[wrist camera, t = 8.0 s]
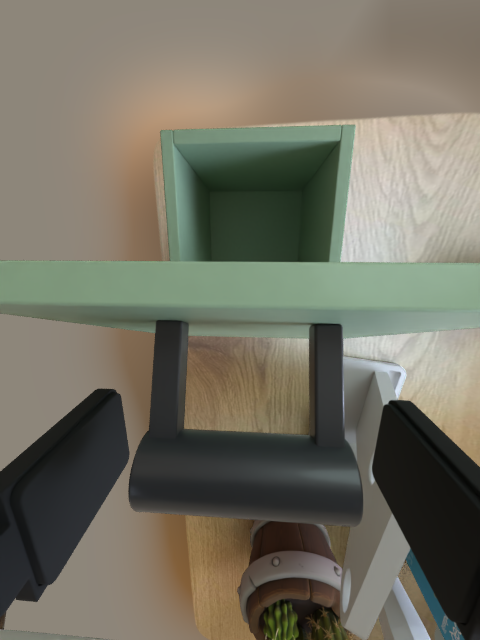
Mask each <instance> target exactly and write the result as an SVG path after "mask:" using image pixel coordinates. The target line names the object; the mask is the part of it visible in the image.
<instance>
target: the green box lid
mask: <svg viewBox="0 0 480 640" xmlns="http://www.w3.org/2000/svg"><path fill="white" fill-rule="evenodd" d="M0 313H1V314H9V315H17V316H24V317H32V318H40V319H48V320H56V321H64V322H72V323H80V324H88V325H96V326H103V327H111V328H120V329H127V330H135V331H143V332H151V333H155V345H154V361H153V376H152V392H151V393H152V394H151V409H150V425H149V431H147V433H146V434H145V435H144V437H143V438H142V440H141V442H140V444H139V446H138V449H137V451H136V454H135V457H134V460H133V464H132V468H131V473H130V479H129V502H130V506H131V508H132V509H133V510H135V511H137V512H151V513H165V514H179V515H193V516H207V517H221V518H236V519H250V520H264V521H278V522H292V523H307V524H321V525H335V526H349V527H356V526H358V525H359V524H360V522H361V520H362V516H363V488H362V481H361V476H360V471H359V467H358V464H357V461H356V457H355V455H354V452H353V450H352V448H351V446H350V444H349V443H348V441H347V440H346V439H345V420H344V365H343V339H344V338H356V337H369V336H382V335H394V334H407V333H419V332H432V331H444V330H457V329H470V328H480V263H378V262H197V261H16V260H15V261H13V260H9V261H8V260H0ZM188 336H222V337H263V338H303V339H309V435H298V434H278V433H257V432H236V431H216V430H195V429H184V416H185V395H186V375H187V354H188Z"/></svg>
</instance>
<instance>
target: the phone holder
mask: <svg viewBox="0 0 480 640" xmlns="http://www.w3.org/2000/svg"><path fill="white" fill-rule="evenodd" d="M343 365H344V420H345V439H346V440H347V441H348V443H349V444H350V446H351V448H352V450H353V452H354V455H355V457H356V461H357V464H358V467H359V471H360V476H361V481H362V488H363V516H362V520H361V522H360V524H359V525H358V526H356V527H350V532H349V537H348V543H347V548H346V554H345V560H344V565H343V571H342V578H341V589H340V619H341V625H342V627H344V628H346V629H347V630H349V631H350V632H352V633H353V634H355V635H356V636H358V637H360V638H361V639H363V640H367V639H368V637H369V635H370V633H371V631H372V629H373V626H374V624H375V622H376V620H377V618H378V616H379V614H380V612H381V610H382V608H383V606H384V603H385V601H386V599H387V597H388V595H389V593H390V591H391V589H392V587H393V584H394V582H395V580H396V578H397V576H398V574H399V572H400V570H401V568H402V565H403V563H404V561H405V559H406V557H407V555H408V553H409V551H410V546H409V544H408V542H407V541H406V539H405V537H404V535H403V533H402V531H401V529H400V527H399V525H398V523H397V521H396V519H395V518H394V516H393V514H392V512H391V510H390V508H389V506H388V504H387V502H386V500H385V498H384V496H383V495H382V493H381V491H380V489H379V487H378V485H377V483H376V481H375V479H374V477H373V473H372V463H373V458H374V453H375V447H376V442H377V437H378V431H379V426H380V421H381V416H382V410H383V406H384V405H385V404H388V402H389V401H391V400H398V398H399V395H400V392H401V389H402V386H403V384H404V381H405V378H406V371H405V370H404V369H403V368H402V367H401V366H400V365H398V364H395V363H388V362H381V361H374V360H367V359H360V358H354V357H347V356H343ZM308 435H309V434H308Z"/></svg>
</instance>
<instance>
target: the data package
mask: <svg viewBox="0 0 480 640" xmlns="http://www.w3.org/2000/svg"><path fill="white" fill-rule="evenodd" d="M406 561H407V563H408V565H409V567H410V569H411V571H412V574H413V576H414V578H415V580H416V582H417V584H418V586H419V588H420V590H421V592H422V594H423V596H424V598H425V600H426V602H427V604H428V606H429V608H430V610H431V612H432V614H433V617H434V619H435V621H436V623H437V625H438V627H439V629H440V631H441V633H442V635H443V637H444V639H445V640H464V638H463V636H462V634H461V632H460V630H459V628H458V627H457V625H456V623H455V622H452V621H451V620H450V619H449V618H448V617H447V616H446V614H445V613H444V611H443V609H442V608H441V606H440V604H439V602H438V600H437V598H436V596H435V594H434V592H433V590H432V588H431V586H430V585H429V583H428V581H427V579H426V577H425V575H424V573H423V571H422V569H421V567H420V565H419V564H418V562H417V560H416V558H415V556H414V554H413V552H412V550H411V548H410V551H409V553H408V555H407V557H406Z"/></svg>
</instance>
